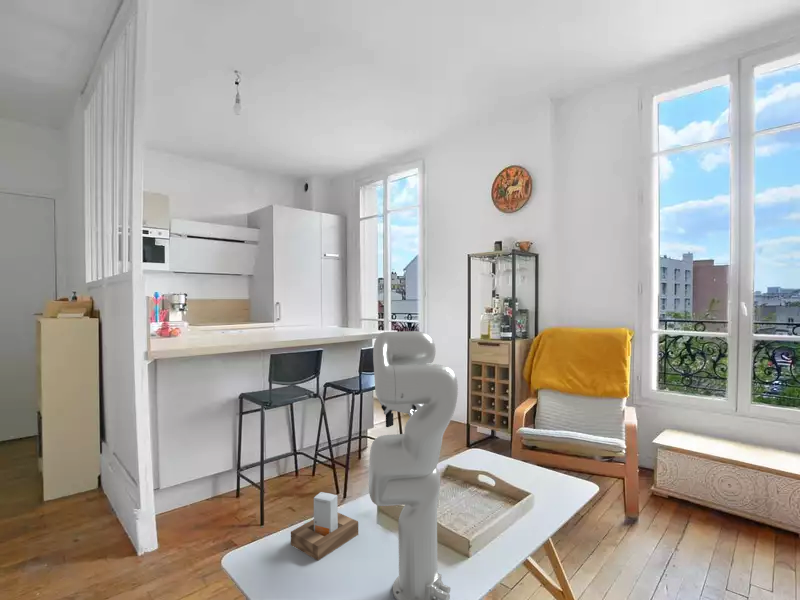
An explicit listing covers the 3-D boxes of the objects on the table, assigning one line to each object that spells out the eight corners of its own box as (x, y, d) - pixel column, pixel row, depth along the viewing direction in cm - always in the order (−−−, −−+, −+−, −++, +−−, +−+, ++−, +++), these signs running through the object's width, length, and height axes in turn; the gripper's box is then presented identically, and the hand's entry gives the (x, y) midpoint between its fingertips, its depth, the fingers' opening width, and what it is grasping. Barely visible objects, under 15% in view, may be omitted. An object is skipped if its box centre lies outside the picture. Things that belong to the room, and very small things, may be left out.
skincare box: (313, 537, 124) (312, 497, 124) (321, 530, 128) (320, 491, 128) (330, 542, 122) (330, 501, 122) (338, 534, 126) (338, 494, 126)
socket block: (358, 534, 128) (358, 521, 128) (318, 560, 115) (317, 546, 115) (331, 521, 135) (331, 509, 135) (290, 545, 123) (290, 531, 123)
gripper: (429, 376, 131) (430, 431, 131) (387, 371, 142) (388, 421, 142) (415, 380, 125) (416, 437, 125) (372, 374, 136) (373, 427, 136)
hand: (401, 428), depth 134 cm, fingers open, 9 cm apart
